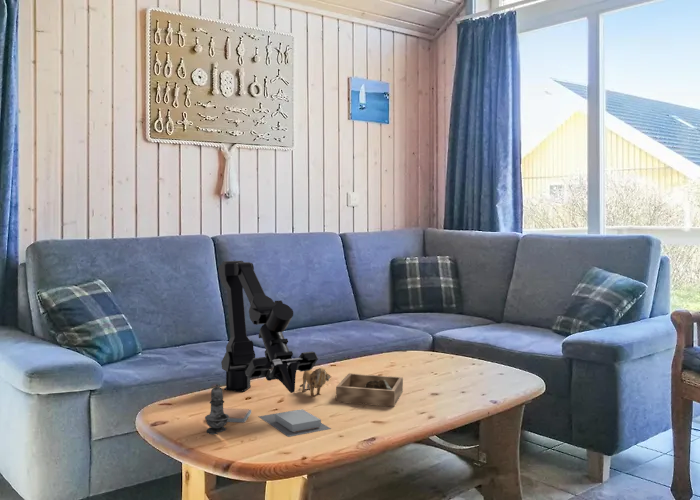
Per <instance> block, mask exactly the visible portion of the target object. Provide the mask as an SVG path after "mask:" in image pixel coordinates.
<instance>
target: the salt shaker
mask: <svg viewBox="0 0 700 500" xmlns="http://www.w3.org/2000/svg"><path fill="white" fill-rule="evenodd" d="M209 404H210V412H209V414H207V415H206V416H205V417H204V419H205V420H206V424H207V426H208V428H207V429H206V433H207V434H208V433H209V435H214V434H217V435H219V433H222V432H225V431H227V428H226V427H225V426H226V425H227V424H228V422H227V421H228V418H229V416H228V415H227V414H224V411H223V408H224V404H225V400H224V388H222V387H220V386H219V383H216V384H215V386H214V387H212V388H211V391H210V401H209Z"/></svg>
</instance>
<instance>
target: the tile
mask: <svg viewBox="0 0 700 500" xmlns="http://www.w3.org/2000/svg"><path fill="white" fill-rule="evenodd" d="M294 410H295V411H294ZM294 410H289V412H288V411H284V412H283V411H282V412H283V413H282V412H277V414H276V413H274V414H275V421H276V422H278V423H279V424H281V425H283V426H284V427H286V428H287V429H289V430H290V431H292V432H298V431H304V430H309V429H314V428H319V427H321V423H322V419H320V418H319V417H317V416H315V415H314V414H311V413H310V412H308V411H306V410H305V409H304V408H303V409H301V408H300V409H294Z"/></svg>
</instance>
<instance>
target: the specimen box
mask: <svg viewBox="0 0 700 500" xmlns="http://www.w3.org/2000/svg"><path fill="white" fill-rule="evenodd" d="M380 380H385V381H386V382H387V383H388V385H389V386H390V387H391V388H392V390H385V389H372V388H365V386H366V384H367V382H369V381H380ZM403 384H404V378H403V376H392V375H391V376H390V375H389V376H387V375H378V374H377V375H376V374H365V373H364V374H362V373H350V372H349V373H348V374H346V376H345V377H344V378H343V379H342V380H341V381H340V382H339V383H338V384H337V385H336V388H335V401H336V402H340V403H344V404H355V405H357V404H358V405H365V406H366V405H368V406H369V405H371V406H378V407H379V406H380V407H393V408H395V406H396V404H397V403H398V401H399V399H400V397H401V395H402V394H403V392H404V390H403V388H404V385H403Z"/></svg>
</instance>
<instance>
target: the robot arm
mask: <svg viewBox="0 0 700 500" xmlns="http://www.w3.org/2000/svg"><path fill="white" fill-rule="evenodd" d="M218 274H219V277H220V283H221V284H222V285H223V287H224V288H225V290H226V294H227V295H226V296H227V307H228V319H229V321H228V322H229V333H230V334H229V335H230V338H229V340H228V341H227V344H226V346H225V353H224V356H223V358H222V360H221V364H220V365H221V369H222V370H223V371H225V387H224V388H223V391H226V392H228V391H230V392H239V393H240V392H242V393H243V392H245V391H247V390H248V389H250V388H251V386H252V385H251V379H255V378H259V377H260V378H266V381H268V382H269V381H270V382H271V381H273V380H275V381H276V380H278V381H280V383H281V384H282V385H283V386H284V387H285V388H286V390H287V391H289V393H290V394H292V393H295V390H296V376H297V375H296V374H297V370H298V371H300V372H304V371H309V370H311V371H312V369H313V368H314V366H315V364H317V362H318V360H319V357H318V354H317V353H316V352H315V351H303V352H301V353H300V354H299V357H296V358H293V355H294V353H293V351H291V350H289V346H288V343H289V339H288V338H285V337H284V331H286V329H287V328H288V326H289V324H290V322H291V320H292V319H293V317H294V309H293V308H291V306H290V305H288V304H285V303H284V302H283V300H275V301H274V300H273V298H271V297H270V296H268V295H266V293H265V291H264V289H263V287H262V284H261V283H260V281H259V279H258V276H257V274H256V271H255V267H254V264H253V262H250V261H244V260H225V261H224V260H223V261H222V262H221V264H219V265H218ZM244 293H245V295H246V298H247V300H248V302H249V309H248V315H249V316H248V317H249V319H250V321H251V322H252V324H253V325H255V326H256V325H259V326H260V325H262V326H261V327H260V329H259V333H258V339H262V343H263V345H264V349H265V351H264V356H262V357H261V356H260V357H256V352H255V350H254V342H253V340H250V339H249V337H248V336H247V328H246V326H247V325H246V315H245V303H244V302H245V300H244Z"/></svg>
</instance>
